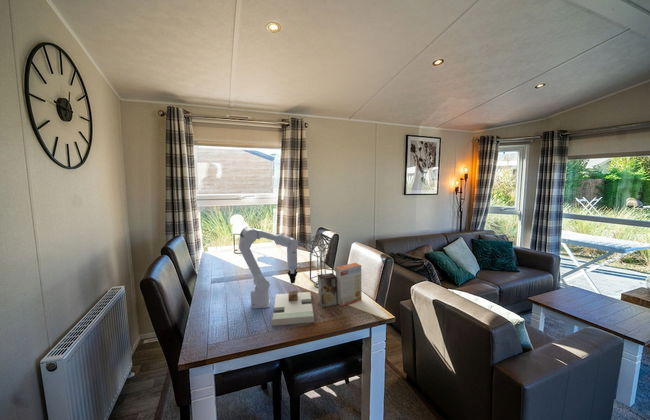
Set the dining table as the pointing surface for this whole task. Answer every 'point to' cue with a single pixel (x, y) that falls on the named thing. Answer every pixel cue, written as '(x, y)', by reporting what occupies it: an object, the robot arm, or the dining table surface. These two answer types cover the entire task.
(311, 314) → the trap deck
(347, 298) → the cracker box
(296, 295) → the walnut block
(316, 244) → the geometric lantern
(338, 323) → the dining table surface
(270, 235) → the robot arm
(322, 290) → the coffee box
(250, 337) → the dining table surface
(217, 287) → the dining table surface
